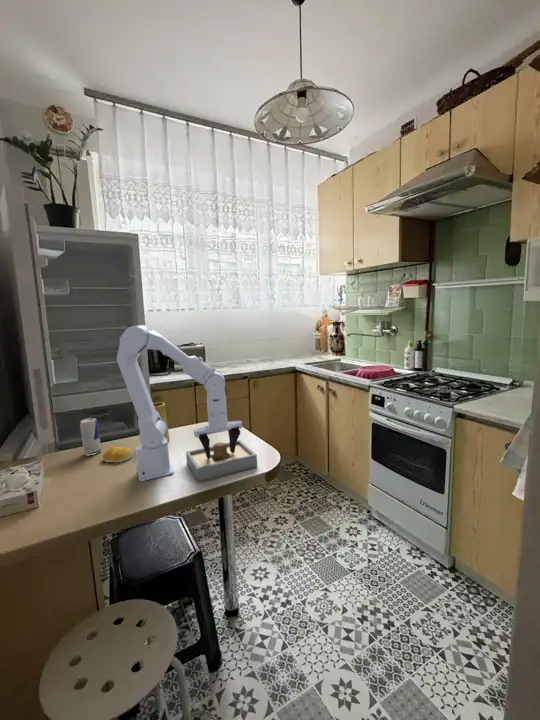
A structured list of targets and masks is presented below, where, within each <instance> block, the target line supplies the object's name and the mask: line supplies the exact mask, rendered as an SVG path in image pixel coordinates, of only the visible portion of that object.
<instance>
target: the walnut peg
mask: <svg viewBox="0 0 540 720" xmlns="http://www.w3.org/2000/svg"><path fill="white" fill-rule="evenodd" d="M226 443H227V442H216V443H214V444H213V445H212V446H213V451H214V462H216V461H220V460H224V459H227V447H226Z"/></svg>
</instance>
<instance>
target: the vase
mask: <svg viewBox="0 0 540 720" xmlns="http://www.w3.org/2000/svg"><path fill="white" fill-rule="evenodd" d="M153 405H154V407H155V410H156V411H157V412H158V413H159V415H160V417H161V418H162V419H163V420H164V421H165V423H166V425H167V431H166V433H165V434H164V436H165V438H166V439H167V442H170V440H171V439H170V435H169V427H168V421H167V420H168V419H167V418H168V417H167V411H166V403H165V402H161V401H160V402H159V401H158V402H155V403H153Z"/></svg>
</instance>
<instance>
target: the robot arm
mask: <svg viewBox="0 0 540 720" xmlns="http://www.w3.org/2000/svg"><path fill="white" fill-rule="evenodd" d="M144 349H146V350H154V351H155V350H156V351H159V352H161V353H162V354H164V355H165V356H167V357H169V358H170V359H172V360H173V361H175V362H177V363H178V364H179V365H181V367H182V371H183V373H185V374H186V375H188V376H189V377H190V378H191V379H193V380H194V381H196V382H198V383H199V384H200V385H203V387H204V389H205V390H206V396H207V397H206V407H207V419H208V420H207V421H208V425H205V426H202V427H199V428H195V429H193V434H194V437H195V438H197V439H199V442H200V443H201V445H202V448H204V450H205V453H206V457H207V458H208V459H210V449H209V447H210V441H211V440H210V438H209V435H212V434H216V433H217V434H218V433H223V432H228V439H229V442H230V451H231V452H232V453H235V446H236V442H237V441H238V439H239V438H240V435H241V430H240V429H243V422H242V421H241V420H236V421H235V420H234V421H228V410H227V409H228V407H227V396H226V389H225V388H226V380H225V376H224V375H223V373H222V372H221V371H220V370H217V369H216V367H211V366H210V365H208V364H207V363H206V362H205V361H203V358H202V357H201V356H199V357H197V356H196V355H192V356H191V355H190V356H189V355H187V354H186V353H185V352H184V351H182V350H181V349H180V348H179V347H177V346H176V345H175V344H174V343H172V342H171V341H169V340H168V339H167V338H165V336H164V335H162V334H160V333H159V332H158V331H156V330H154V329H151V328H150V327H149V326H148V325H144V324H139V325H133V326H130V327H128V328H126V329H125V330H124V332H123V333H122V335H121V336H120V337H119V345H118V350H117V354H116V355H117V356H116V362H117V365H118V367H119V370H120V372H121V376H122V377H123V380H124V383H125V386H126V388H127V389H126V390H127V391H128V393H129V397H130V399H131V401H132V404H133V407H134V410H135V412H136V415H137V418H138V421H137V424H138V429H139V438H138V439H139V442H140V444H141V445H140V446H137V447H135V448H134V451H135V462H136V467H135V468H136V469H135V470H136V473H137V475H138V478H139V479H138V480H139V481H140V482H145V481H148V480H152V479H153V480H154V479H156V478H161V477H166V476H169V475H173V474H174V470H173V468H172V466H171V464H170V455H169V444H168V442H169V441H168V442H167V439H166V438H165V436H164V434H165V433H166V431H167V426H168V424H167V425H166V423H165V421H164V420H163V419H162V418H161V417H160V415H159V413H158V412H157V411H156V410H155V407H154V405H153V400H152V397H151V394H150V392H149V389H148V387H147V384H146V383H147V382H146V381H145V378H144V375H143V373H142V370H141V367H140V364H139V362H138V359H139V357H140V356H141V354H142V352H143V351H144Z"/></svg>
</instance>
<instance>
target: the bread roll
mask: <svg viewBox="0 0 540 720" xmlns="http://www.w3.org/2000/svg"><path fill="white" fill-rule="evenodd" d="M132 456H133V451H132V449H131V448H129V447H120V446H111V447H110V448H108V449H106V451H105V452H104V453H103V455H102V459H103V461H104V462H105V461H109V462H110V461H111V462H120V463H123V462H122V461H124V462H126V461H125V460H127V461H128V459H129V460H130V459H131V458H132Z"/></svg>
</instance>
